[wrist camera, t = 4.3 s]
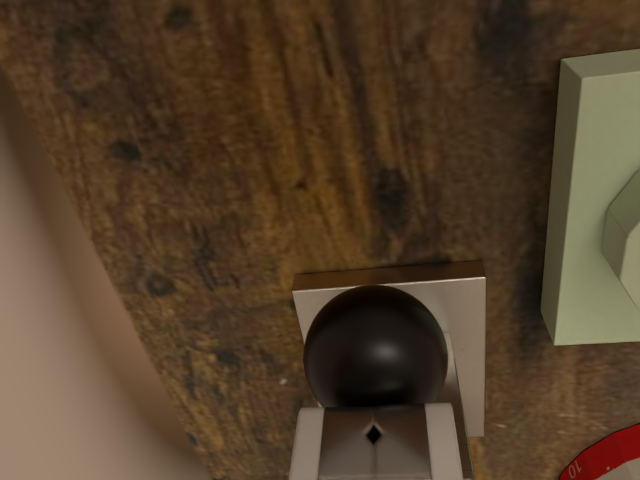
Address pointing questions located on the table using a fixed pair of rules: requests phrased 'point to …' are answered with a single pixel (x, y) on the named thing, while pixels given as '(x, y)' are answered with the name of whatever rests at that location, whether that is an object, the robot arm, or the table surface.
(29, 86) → the table surface
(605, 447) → the kitchen timer
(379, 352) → the switch lever
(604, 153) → the control block
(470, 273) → the switch bracket
